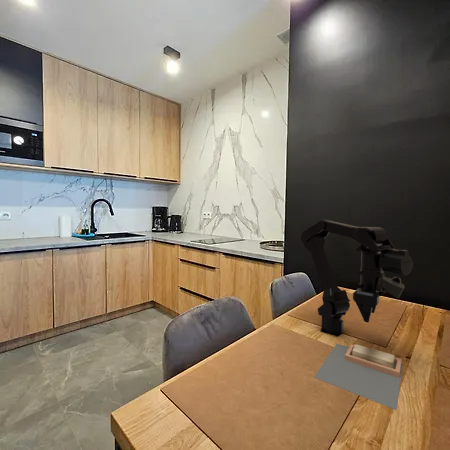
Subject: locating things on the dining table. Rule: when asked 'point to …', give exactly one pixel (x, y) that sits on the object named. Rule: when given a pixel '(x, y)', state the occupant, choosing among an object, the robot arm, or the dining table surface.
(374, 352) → the tan oblong block
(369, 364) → the frame
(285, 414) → the dining table surface
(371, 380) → the mat
